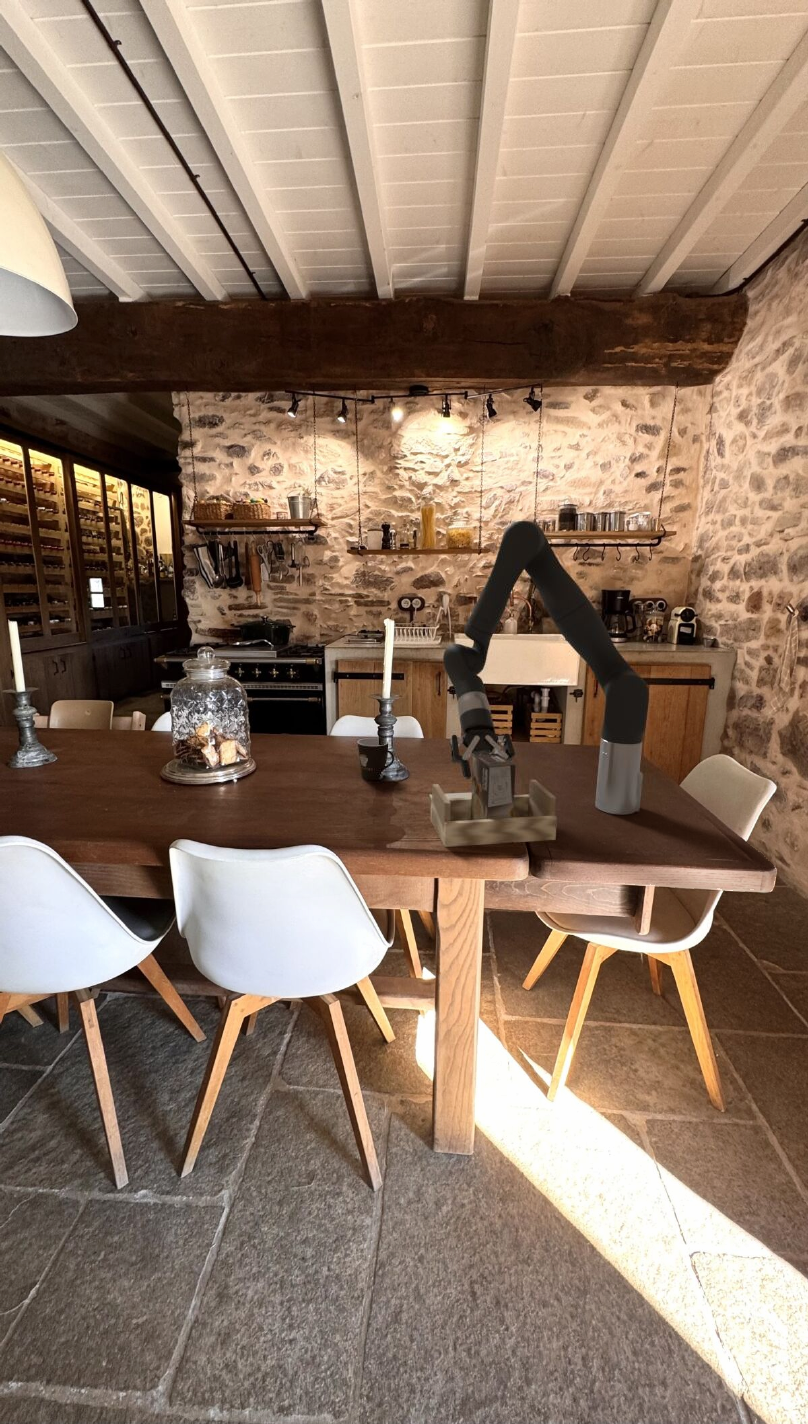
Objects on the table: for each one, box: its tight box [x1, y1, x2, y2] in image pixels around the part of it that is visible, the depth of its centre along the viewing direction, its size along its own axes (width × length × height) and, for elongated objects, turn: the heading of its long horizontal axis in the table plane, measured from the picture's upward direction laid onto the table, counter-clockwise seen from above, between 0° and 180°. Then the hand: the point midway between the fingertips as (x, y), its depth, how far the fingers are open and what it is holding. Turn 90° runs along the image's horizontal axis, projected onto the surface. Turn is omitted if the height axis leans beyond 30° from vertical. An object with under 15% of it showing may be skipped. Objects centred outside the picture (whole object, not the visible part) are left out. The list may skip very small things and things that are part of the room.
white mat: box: [429, 791, 472, 800], centre depth 144 cm, size 18×12×1 cm, turn 100°
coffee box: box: [471, 754, 517, 820], centre depth 127 cm, size 9×6×16 cm
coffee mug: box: [357, 737, 395, 781], centre depth 160 cm, size 12×9×10 cm
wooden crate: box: [430, 779, 558, 848], centre depth 127 cm, size 24×14×9 cm, turn 100°
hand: (487, 777), depth 129 cm, fingers open, 8 cm apart
